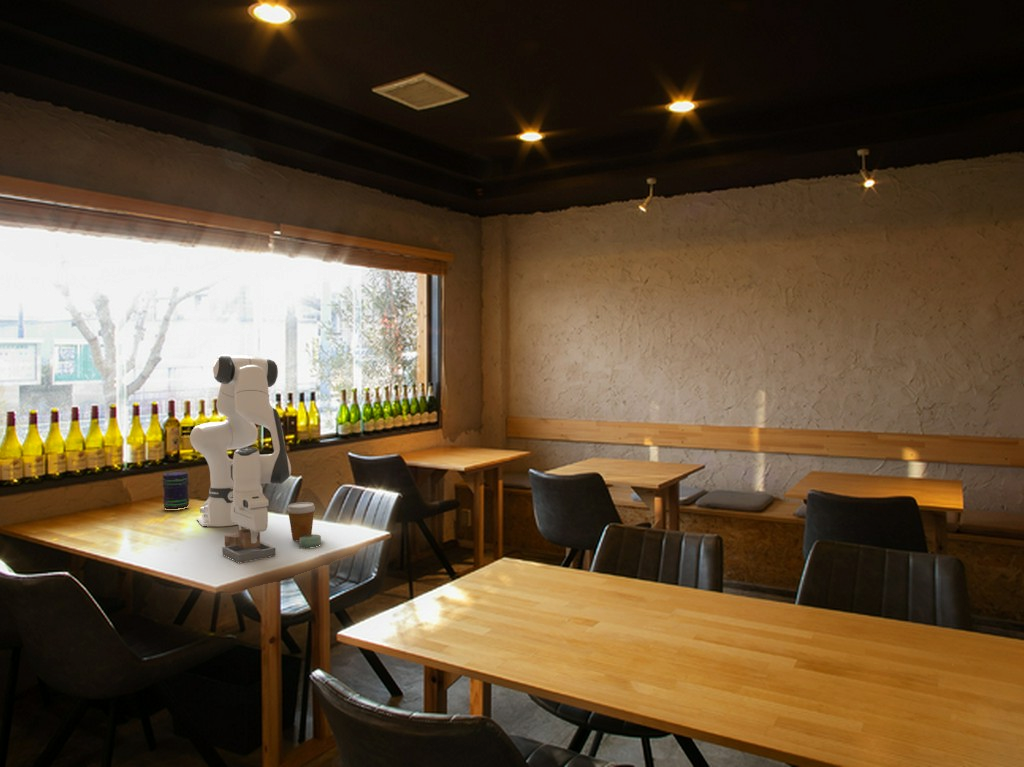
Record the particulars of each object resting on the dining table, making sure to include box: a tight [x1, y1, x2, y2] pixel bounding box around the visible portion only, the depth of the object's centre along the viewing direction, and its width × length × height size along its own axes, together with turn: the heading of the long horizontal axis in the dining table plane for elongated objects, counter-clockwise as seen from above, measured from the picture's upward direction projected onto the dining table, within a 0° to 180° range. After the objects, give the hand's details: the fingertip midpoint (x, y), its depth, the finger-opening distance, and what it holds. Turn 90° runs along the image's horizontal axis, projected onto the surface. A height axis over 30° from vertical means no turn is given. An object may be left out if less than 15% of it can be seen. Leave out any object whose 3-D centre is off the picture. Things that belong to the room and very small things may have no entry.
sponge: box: [298, 533, 322, 549], centre depth 250 cm, size 7×7×3 cm
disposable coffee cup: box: [286, 501, 316, 542], centre depth 258 cm, size 10×10×12 cm
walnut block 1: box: [224, 531, 238, 547], centre depth 246 cm, size 5×5×5 cm
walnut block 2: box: [237, 529, 261, 549], centre depth 238 cm, size 5×5×5 cm
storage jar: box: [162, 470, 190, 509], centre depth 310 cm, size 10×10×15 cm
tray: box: [221, 540, 277, 564], centre depth 239 cm, size 13×12×2 cm
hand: (249, 541), depth 238 cm, fingers closed on walnut block 2, 5 cm apart
